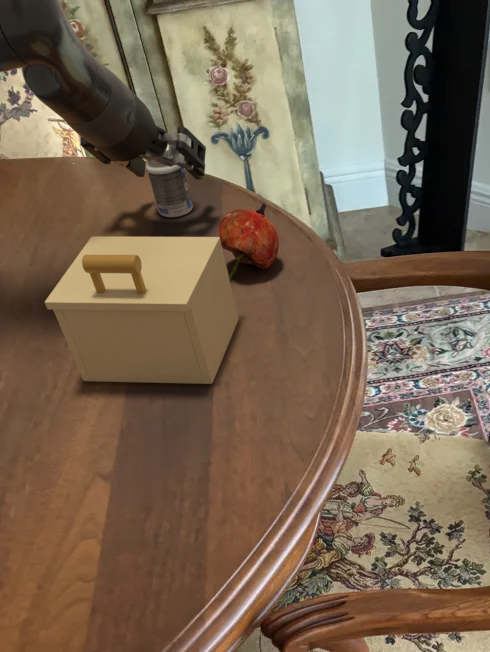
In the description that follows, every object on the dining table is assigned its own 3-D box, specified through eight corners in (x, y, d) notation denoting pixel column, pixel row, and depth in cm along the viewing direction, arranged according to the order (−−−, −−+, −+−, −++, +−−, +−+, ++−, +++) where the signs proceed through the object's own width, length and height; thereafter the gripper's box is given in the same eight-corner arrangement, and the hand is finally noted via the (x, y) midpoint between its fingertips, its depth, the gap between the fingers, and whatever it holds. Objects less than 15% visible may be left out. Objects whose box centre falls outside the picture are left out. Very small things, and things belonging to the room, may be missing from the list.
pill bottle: (199, 211, 106) (183, 146, 100) (166, 221, 104) (148, 156, 98) (185, 198, 109) (168, 135, 102) (153, 208, 107) (134, 144, 101)
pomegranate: (263, 303, 94) (307, 230, 93) (218, 271, 88) (263, 193, 87) (232, 286, 98) (273, 216, 97) (187, 254, 93) (230, 179, 92)
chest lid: (188, 311, 73) (176, 267, 70) (47, 309, 74) (28, 266, 71) (221, 244, 81) (211, 202, 78) (94, 243, 82) (79, 202, 79)
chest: (212, 384, 80) (190, 307, 73) (83, 381, 81) (50, 305, 75) (238, 319, 88) (221, 244, 81) (120, 317, 89) (94, 243, 82)
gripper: (166, 78, 86) (224, 143, 102) (48, 75, 89) (124, 140, 105) (160, 148, 87) (219, 202, 103) (44, 143, 89) (119, 197, 105)
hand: (171, 170), depth 104 cm, fingers open, 8 cm apart
